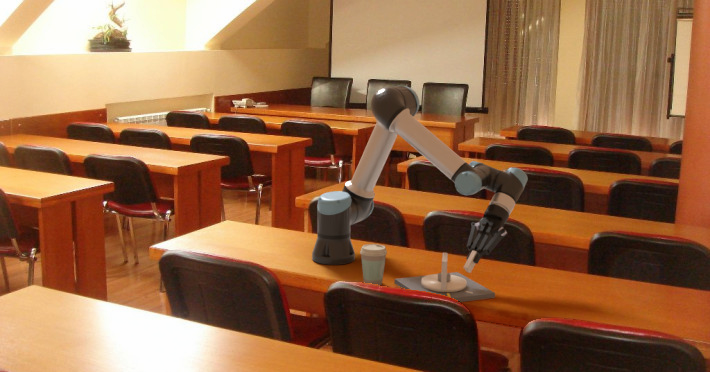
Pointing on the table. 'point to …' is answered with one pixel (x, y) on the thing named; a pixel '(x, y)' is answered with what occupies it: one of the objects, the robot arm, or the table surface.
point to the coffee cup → (373, 263)
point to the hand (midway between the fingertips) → (466, 270)
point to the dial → (443, 280)
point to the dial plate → (468, 294)
